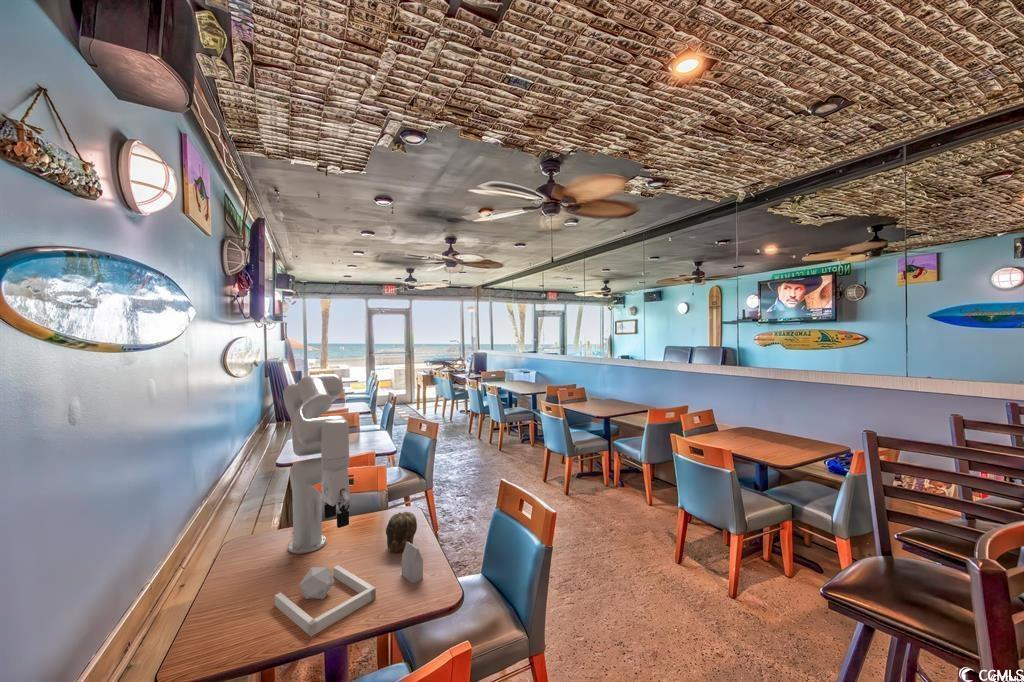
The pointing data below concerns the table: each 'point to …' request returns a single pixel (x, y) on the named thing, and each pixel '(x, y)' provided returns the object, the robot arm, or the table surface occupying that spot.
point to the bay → (334, 614)
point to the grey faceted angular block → (412, 563)
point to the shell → (400, 531)
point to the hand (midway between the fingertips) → (336, 521)
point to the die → (317, 583)
